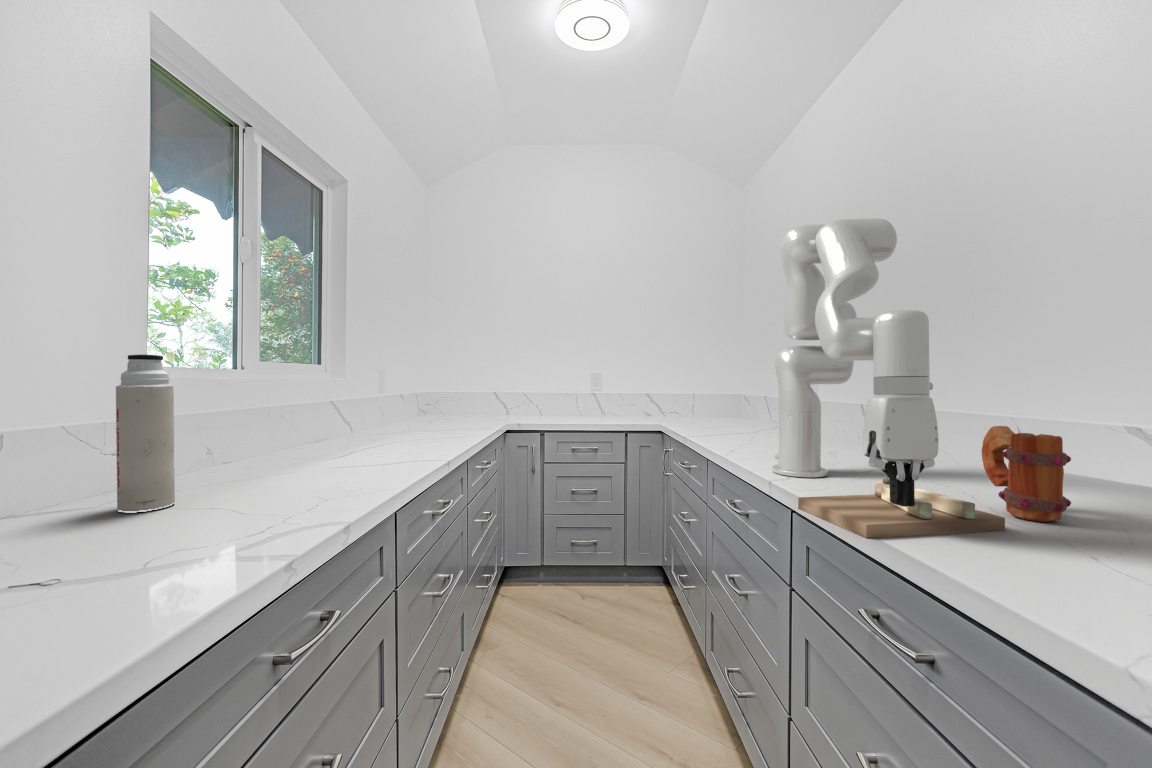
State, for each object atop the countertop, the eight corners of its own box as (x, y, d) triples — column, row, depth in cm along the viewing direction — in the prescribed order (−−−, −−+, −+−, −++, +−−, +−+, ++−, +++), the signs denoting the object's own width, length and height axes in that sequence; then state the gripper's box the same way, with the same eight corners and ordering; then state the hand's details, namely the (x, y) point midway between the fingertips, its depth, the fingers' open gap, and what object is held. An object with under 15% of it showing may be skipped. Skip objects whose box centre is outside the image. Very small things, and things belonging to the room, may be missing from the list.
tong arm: (869, 492, 93) (869, 481, 93) (893, 493, 93) (894, 481, 93) (921, 518, 76) (921, 504, 76) (951, 519, 76) (951, 505, 76)
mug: (1086, 527, 79) (1087, 432, 79) (1034, 526, 80) (1035, 432, 79) (1008, 503, 94) (1009, 424, 94) (964, 503, 94) (965, 424, 94)
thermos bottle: (109, 515, 86) (107, 353, 85) (127, 505, 93) (125, 355, 93) (167, 510, 89) (165, 354, 89) (180, 500, 96) (178, 355, 96)
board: (798, 508, 91) (798, 497, 91) (914, 503, 94) (914, 492, 94) (866, 538, 74) (866, 524, 74) (1004, 530, 78) (1004, 517, 77)
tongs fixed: (880, 494, 92) (880, 478, 92) (894, 494, 92) (895, 478, 92) (961, 519, 76) (961, 499, 76) (978, 518, 76) (978, 499, 76)
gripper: (923, 389, 84) (924, 498, 84) (842, 389, 82) (843, 500, 82) (963, 389, 77) (965, 508, 76) (875, 388, 75) (876, 511, 74)
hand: (902, 504), depth 79 cm, fingers closed
